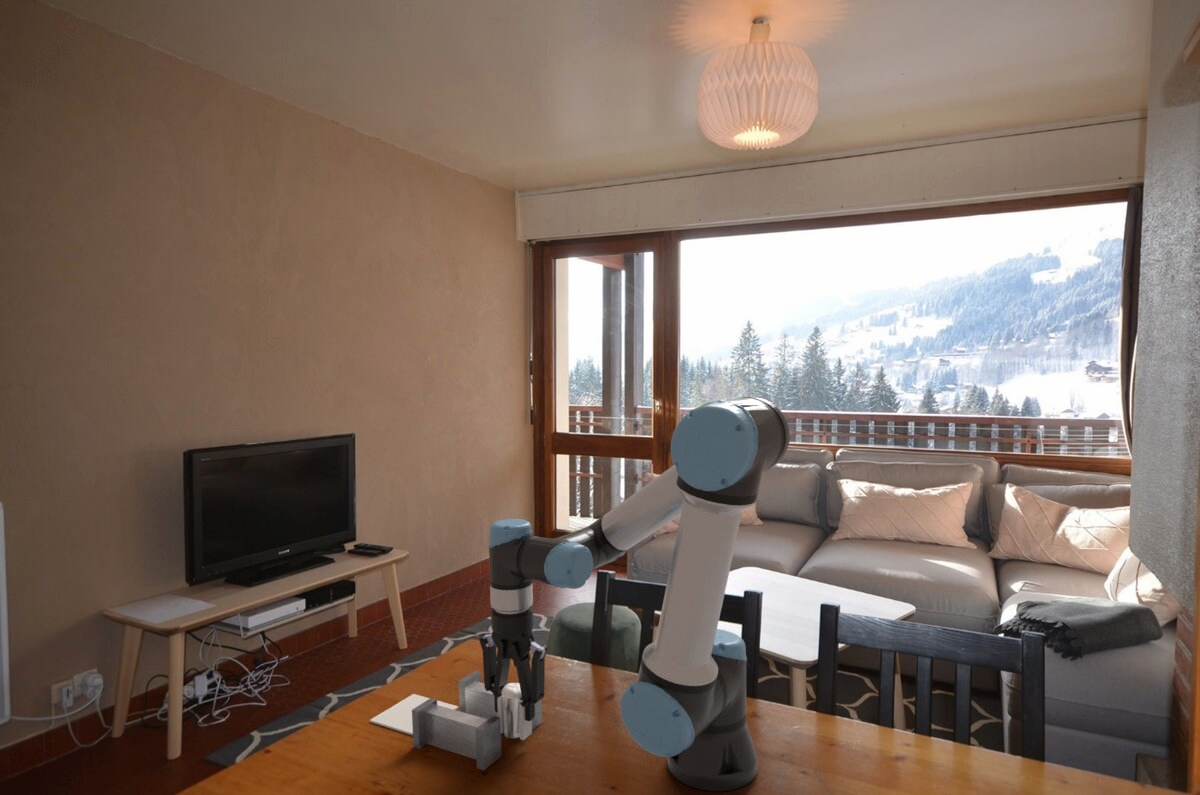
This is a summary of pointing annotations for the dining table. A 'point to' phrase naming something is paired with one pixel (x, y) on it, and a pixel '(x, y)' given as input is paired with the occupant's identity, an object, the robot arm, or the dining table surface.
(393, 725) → the pad
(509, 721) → the milkshake
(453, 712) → the brackets
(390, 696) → the dining table surface
